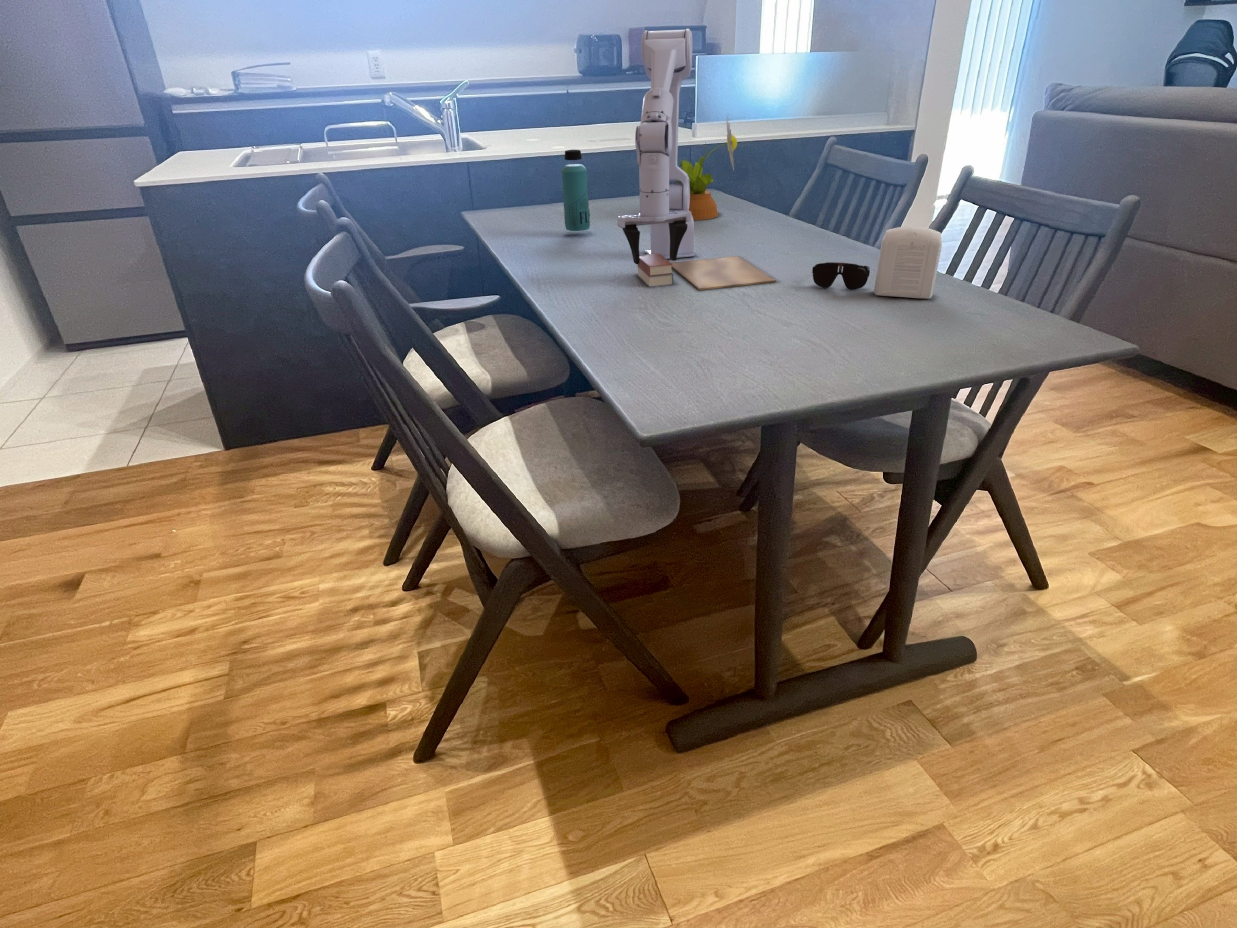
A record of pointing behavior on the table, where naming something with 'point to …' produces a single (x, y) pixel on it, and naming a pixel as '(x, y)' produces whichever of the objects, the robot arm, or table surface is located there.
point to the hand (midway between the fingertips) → (654, 261)
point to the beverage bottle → (575, 193)
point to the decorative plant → (704, 183)
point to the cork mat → (720, 273)
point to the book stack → (655, 270)
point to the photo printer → (908, 262)
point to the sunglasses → (851, 274)
